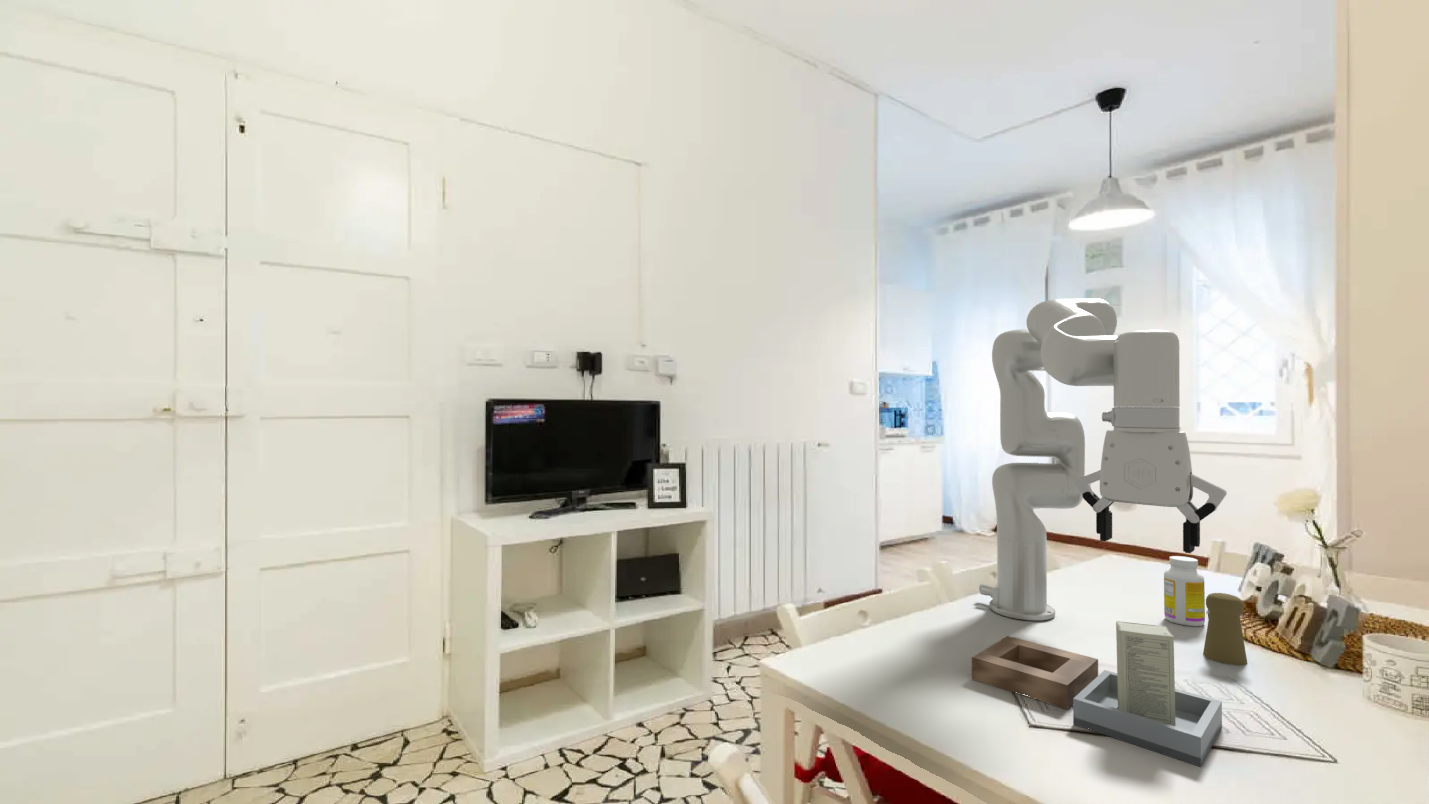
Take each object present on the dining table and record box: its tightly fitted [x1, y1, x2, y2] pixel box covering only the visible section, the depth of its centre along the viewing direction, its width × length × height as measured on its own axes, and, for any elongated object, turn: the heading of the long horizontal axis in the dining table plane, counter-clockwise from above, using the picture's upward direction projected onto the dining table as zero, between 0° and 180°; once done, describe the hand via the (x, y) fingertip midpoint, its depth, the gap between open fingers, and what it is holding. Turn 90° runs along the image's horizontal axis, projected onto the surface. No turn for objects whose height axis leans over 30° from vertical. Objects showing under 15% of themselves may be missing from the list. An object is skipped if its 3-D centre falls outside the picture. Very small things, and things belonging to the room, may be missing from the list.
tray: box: [1072, 669, 1223, 767], centre depth 86 cm, size 14×14×4 cm
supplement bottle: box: [1163, 555, 1206, 627], centre depth 129 cm, size 7×7×13 cm
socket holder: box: [971, 635, 1099, 711], centre depth 100 cm, size 14×14×4 cm
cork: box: [1202, 592, 1248, 666], centre depth 110 cm, size 6×6×11 cm
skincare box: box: [1115, 620, 1176, 726], centre depth 86 cm, size 6×4×12 cm
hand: (1145, 545), depth 87 cm, fingers open, 9 cm apart
